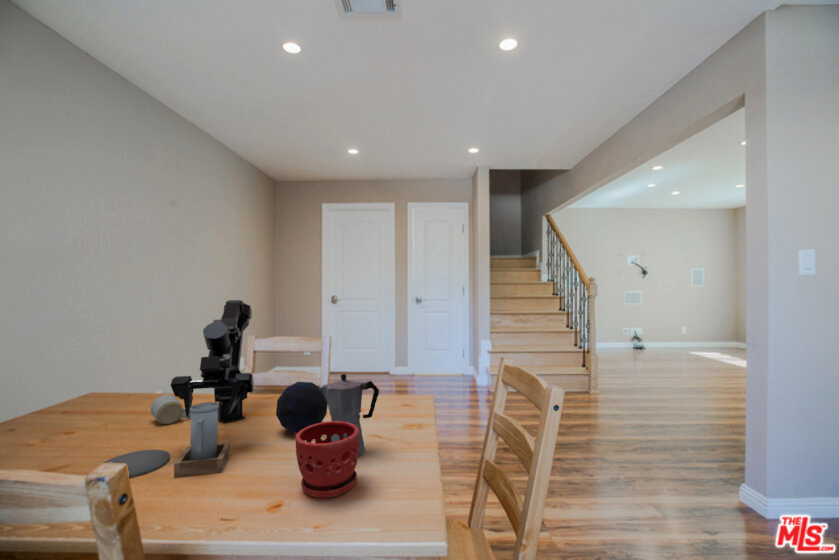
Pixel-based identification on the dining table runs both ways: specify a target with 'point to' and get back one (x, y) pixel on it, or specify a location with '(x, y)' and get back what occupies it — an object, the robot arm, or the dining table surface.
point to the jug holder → (201, 462)
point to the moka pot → (348, 403)
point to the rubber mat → (142, 461)
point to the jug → (204, 431)
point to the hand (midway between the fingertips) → (208, 414)
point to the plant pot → (327, 458)
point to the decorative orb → (301, 406)
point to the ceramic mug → (167, 409)
